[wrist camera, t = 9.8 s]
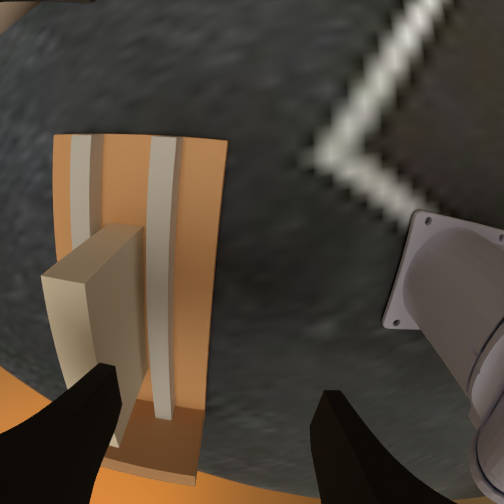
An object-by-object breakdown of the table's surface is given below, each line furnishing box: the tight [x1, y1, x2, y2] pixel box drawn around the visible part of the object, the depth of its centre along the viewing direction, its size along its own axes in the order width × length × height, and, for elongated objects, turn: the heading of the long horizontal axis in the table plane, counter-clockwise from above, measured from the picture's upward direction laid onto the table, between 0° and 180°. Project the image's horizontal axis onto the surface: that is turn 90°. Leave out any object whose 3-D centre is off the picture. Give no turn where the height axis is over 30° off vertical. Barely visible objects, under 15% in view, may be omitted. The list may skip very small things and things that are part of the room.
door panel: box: [41, 223, 148, 448], centre depth 15 cm, size 2×10×7 cm, turn 173°
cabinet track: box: [53, 134, 229, 486], centre depth 16 cm, size 10×20×7 cm, turn 173°
